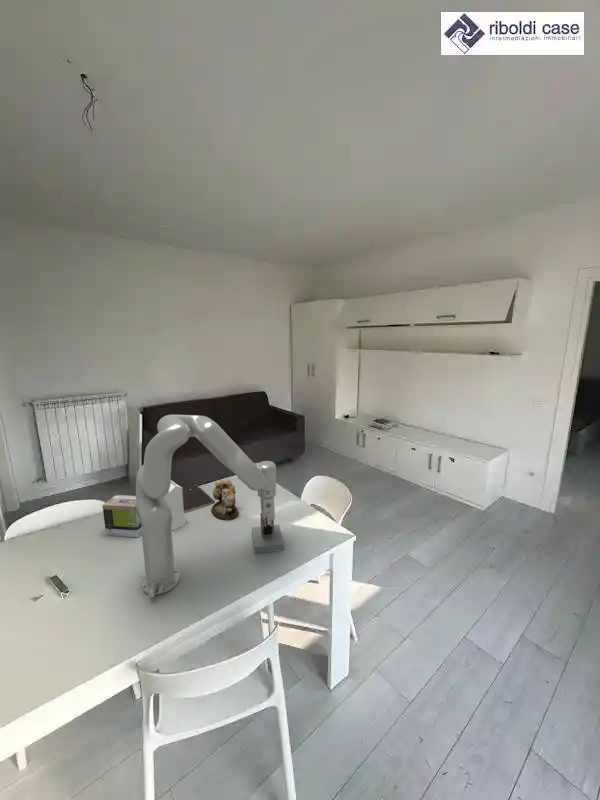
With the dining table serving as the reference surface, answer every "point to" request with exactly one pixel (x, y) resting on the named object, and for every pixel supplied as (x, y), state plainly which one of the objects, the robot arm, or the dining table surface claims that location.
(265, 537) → the slate platform
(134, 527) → the tea box
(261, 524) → the walnut block
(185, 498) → the hardcover book
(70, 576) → the dining table surface
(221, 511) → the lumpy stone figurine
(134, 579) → the dining table surface
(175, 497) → the milk
